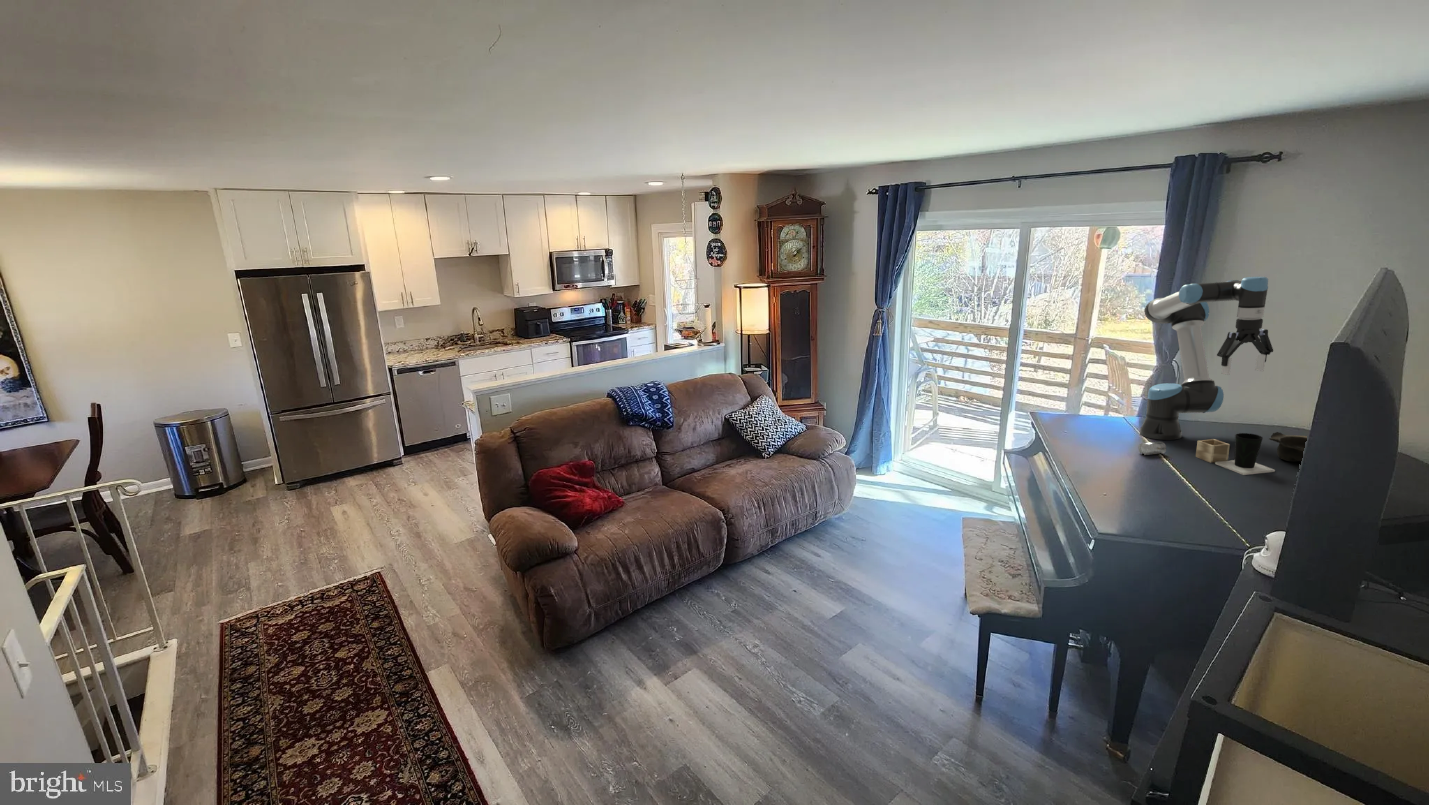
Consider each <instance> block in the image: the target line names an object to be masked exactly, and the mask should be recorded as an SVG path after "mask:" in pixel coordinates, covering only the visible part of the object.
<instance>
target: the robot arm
mask: <svg viewBox="0 0 1429 805" xmlns="http://www.w3.org/2000/svg"><path fill="white" fill-rule="evenodd" d="M1268 289H1269V278H1268V277H1266V276H1246V277H1243V278H1242V279H1241V280H1239V279H1234V280H1233V279H1232V280H1226V281H1218V282H1217V281H1216V282H1206V283H1205V282H1204V283H1203V282H1201V283H1196V282H1195V283H1190V284H1188V283H1187V284H1184V285H1183V286H1181V288H1179V291H1176V292H1175V293H1172V294H1170V295H1167V296H1165V297H1158V298H1157V297H1156V298H1155V299H1152V300H1151V301H1149V302H1148V303H1147V304H1146V305H1145V307H1144V316H1145V317H1146V319H1148V320H1149V321H1151V322H1153V323H1156V324H1163V325H1164V324H1167V325H1168V324H1171V329H1172V330H1175V331H1176V336H1177V340H1178V347H1179V353H1180V354H1179V355H1180V360H1181V367H1182V372H1183V379H1184V381H1183V382H1182V383H1181V384H1179V383H1172V382H1171V383H1170V382H1168V383H1166V382H1164V383H1158V384H1155V385H1152V386H1151V387H1150V388H1149V389H1148V392H1147V402H1146V403H1147V404H1146V411H1145V412H1146V414H1145V419H1144V421H1143V423H1142V425H1141V427H1140V428H1139V434H1140V436H1142V437H1145V438H1149V439H1152V440H1161V441H1162V440H1164V441H1174V440H1175V441H1176V440H1178V439H1179V440H1180V439H1181V438H1182V436H1183V434H1182V433H1183V432H1182V428H1181V425H1180V422H1179V418H1180V417H1179V415H1180V414H1193V413H1194V414H1195V413H1196V414H1197V413H1199V414H1200V413H1201V414H1205V413H1214V412H1216V411H1218V410H1220V408H1221V407H1222V405H1223V402H1224V399H1225V398H1224V395H1225V394H1224V390H1223V389H1222V387H1221V386H1220V385H1219V386H1218V385H1216V382H1215V380H1213V379H1211V378H1210V375H1209V374H1210V373H1209V370H1208V368H1209V367H1208V363H1207V356H1206V351H1205V344H1204V338H1203V332H1202V327H1203V326H1204V325H1205V321H1207V320H1208V318H1209V315H1210V314H1209V313H1210V306H1209V304H1208V303H1209V302H1212V303H1213V302H1227V301H1228V302H1229V301H1238V304H1237V306H1238V307H1237V313H1236V321H1235V329H1236V332H1234V331H1229V332H1227V335H1226V338H1225V340H1224V342H1223V343H1222V345H1221V347H1220V348H1219V350H1218V351H1217V354H1216V357H1220V358H1221V374H1222V375H1227V376H1229V375H1230V373H1231V366H1232V356H1233V354H1234V353H1235V352H1236V351H1237V350H1238V349H1239V347H1240V346H1241V345H1244V344H1248V343H1251V344H1253V347H1254V348H1255V349H1256V350H1257V351H1258V353H1257V354H1256V359H1255V360H1256V361H1255V367H1254V371H1259V372H1264V369H1265V363H1266V362H1267V358H1268V355H1271V353H1273V352H1274V348H1273V346H1272V342H1271V340H1270V337H1269V329H1266V328H1263V322H1264V319H1263V317H1264V313H1265V309H1266V308H1265V307H1266V300H1267V295H1268Z"/></svg>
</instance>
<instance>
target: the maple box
mask: <svg viewBox="0 0 1429 805" xmlns="http://www.w3.org/2000/svg"><path fill="white" fill-rule="evenodd" d="M1196 444H1197V445H1196V451H1195V457H1196V458H1198V459H1200V460H1202V461H1205V462H1207V463H1211V464H1212V463H1215V462H1221V461H1229V455H1230V454H1229V453H1230V447H1231V444H1230V443H1226V442H1224V441H1221V440H1219V439H1215V438H1211V439H1203V440H1197V442H1196Z"/></svg>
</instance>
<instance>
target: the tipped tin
mask: <svg viewBox="0 0 1429 805" xmlns="http://www.w3.org/2000/svg"><path fill="white" fill-rule="evenodd" d="M1138 452H1139V454H1140V453H1142V454H1144V455H1143V456H1151V455H1158V454H1160V453H1161V454H1165V453H1166V452H1167V445H1166V444H1165V442H1163V441H1154V442H1153V441H1151V442H1145V443H1143V442H1142V443H1139V445H1138ZM1142 454H1141V455H1142Z"/></svg>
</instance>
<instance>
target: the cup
mask: <svg viewBox="0 0 1429 805" xmlns="http://www.w3.org/2000/svg"><path fill="white" fill-rule="evenodd" d="M1234 436H1235V437H1234V443H1235V444H1234V446H1235V447H1234V460H1235V465H1236V466H1238V467H1241V468H1254V466H1255V463H1257V459H1258V455H1259V452H1260V449H1261V445H1262V442H1263V439H1264V438H1263V436H1261V435H1259V434H1256V433H1255V434H1254V433H1250V432H1249V433H1248V432H1239V433H1238V432H1237V433H1236V434H1235V435H1234Z"/></svg>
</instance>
